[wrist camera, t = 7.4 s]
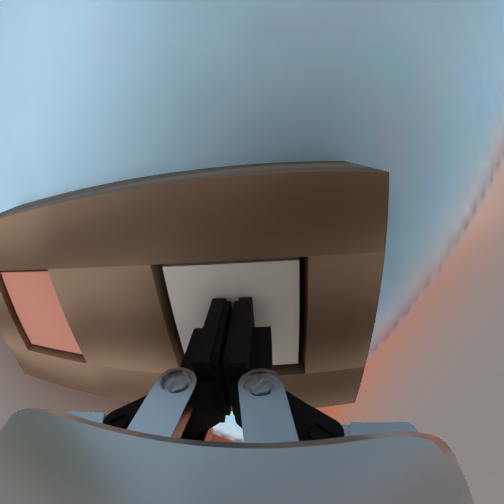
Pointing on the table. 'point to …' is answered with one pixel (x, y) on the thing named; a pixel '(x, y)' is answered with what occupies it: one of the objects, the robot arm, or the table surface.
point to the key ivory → (240, 285)
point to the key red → (39, 309)
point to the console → (194, 251)
